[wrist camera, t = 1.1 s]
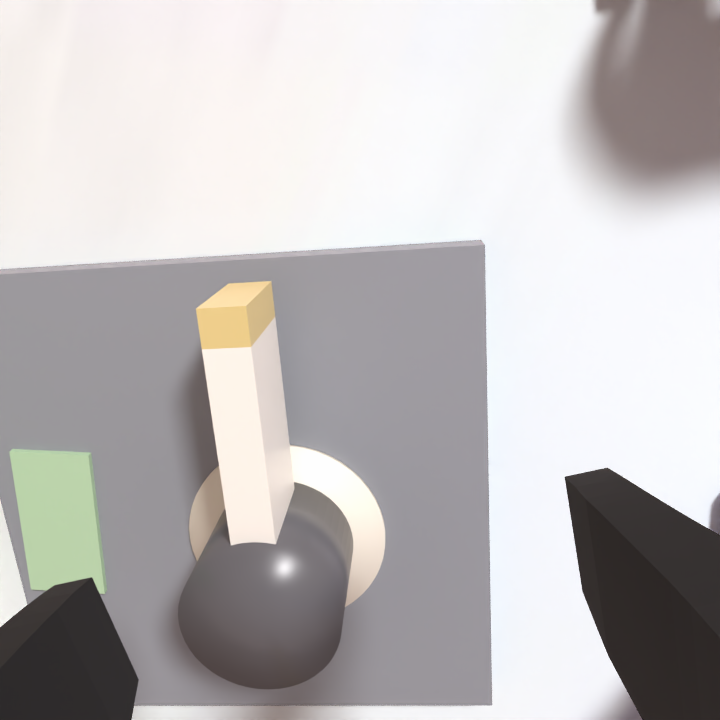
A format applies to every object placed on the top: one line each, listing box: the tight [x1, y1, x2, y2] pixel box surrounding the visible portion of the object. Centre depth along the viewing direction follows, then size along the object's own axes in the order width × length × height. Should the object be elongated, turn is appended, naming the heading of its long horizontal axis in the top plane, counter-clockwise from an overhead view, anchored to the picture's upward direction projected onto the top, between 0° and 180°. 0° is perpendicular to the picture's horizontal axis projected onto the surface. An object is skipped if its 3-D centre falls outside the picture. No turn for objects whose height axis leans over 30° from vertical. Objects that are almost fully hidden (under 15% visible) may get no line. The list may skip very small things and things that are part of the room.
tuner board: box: [0, 240, 492, 705], centre depth 22 cm, size 16×16×1 cm
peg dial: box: [178, 281, 353, 690], centre depth 19 cm, size 11×4×4 cm, turn 4°
